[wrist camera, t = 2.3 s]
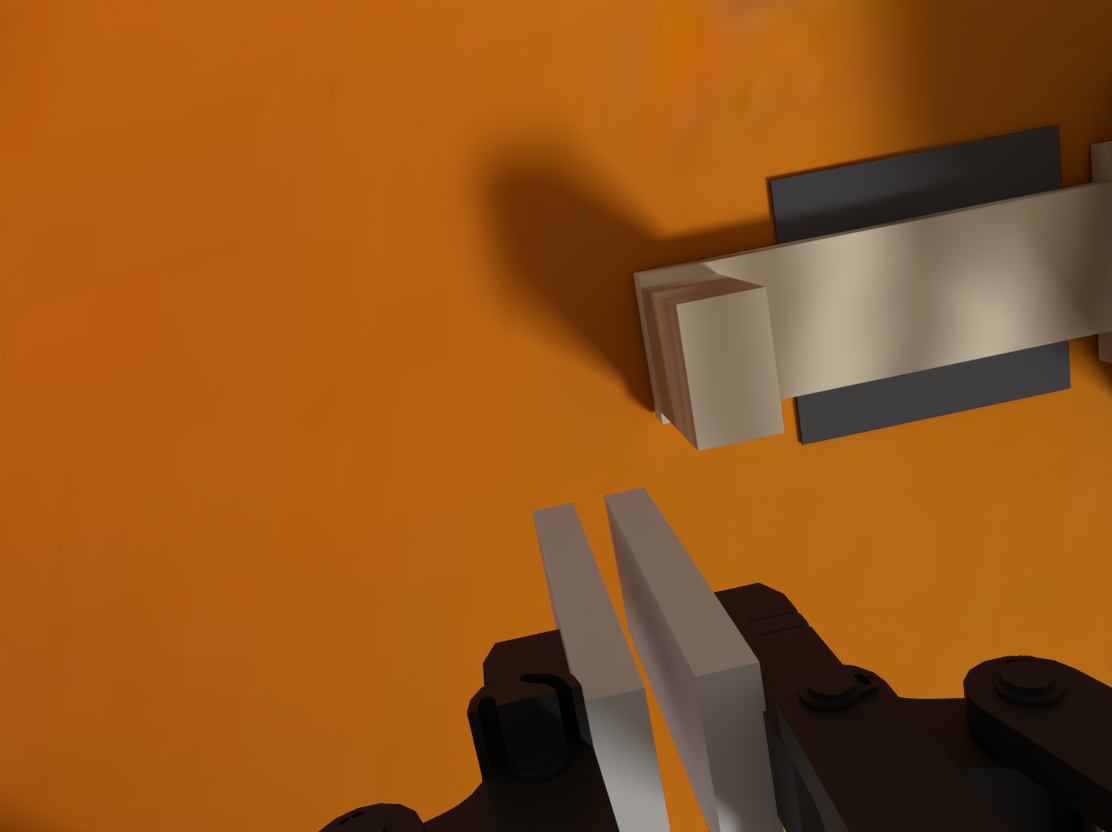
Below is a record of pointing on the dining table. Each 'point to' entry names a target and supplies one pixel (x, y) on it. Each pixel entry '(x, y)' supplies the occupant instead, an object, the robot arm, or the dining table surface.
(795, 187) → the dark grey square plate
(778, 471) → the dining table surface
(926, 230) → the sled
